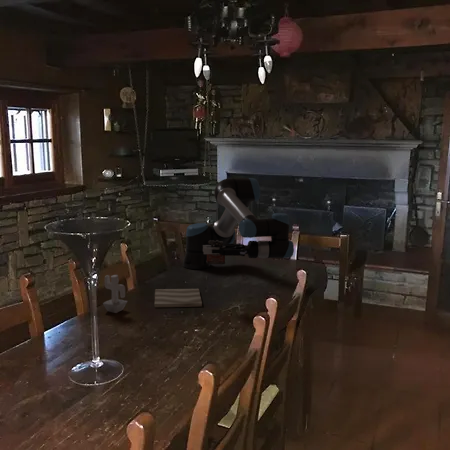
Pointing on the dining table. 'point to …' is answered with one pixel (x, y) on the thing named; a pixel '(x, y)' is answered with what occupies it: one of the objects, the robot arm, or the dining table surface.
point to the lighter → (215, 257)
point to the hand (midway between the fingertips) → (203, 249)
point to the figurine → (114, 294)
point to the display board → (177, 298)
